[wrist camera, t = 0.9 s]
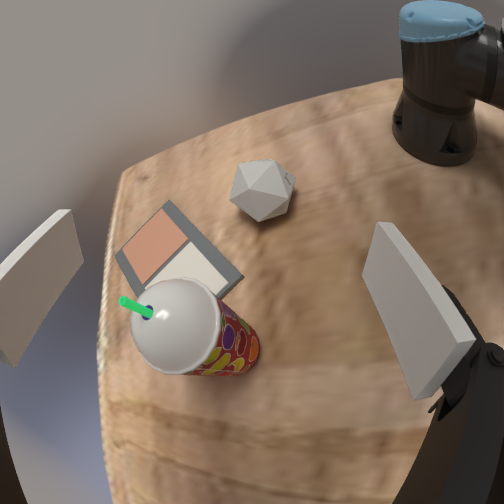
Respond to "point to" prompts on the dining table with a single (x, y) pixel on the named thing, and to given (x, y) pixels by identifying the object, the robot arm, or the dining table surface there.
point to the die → (262, 189)
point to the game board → (174, 255)
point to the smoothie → (190, 330)
